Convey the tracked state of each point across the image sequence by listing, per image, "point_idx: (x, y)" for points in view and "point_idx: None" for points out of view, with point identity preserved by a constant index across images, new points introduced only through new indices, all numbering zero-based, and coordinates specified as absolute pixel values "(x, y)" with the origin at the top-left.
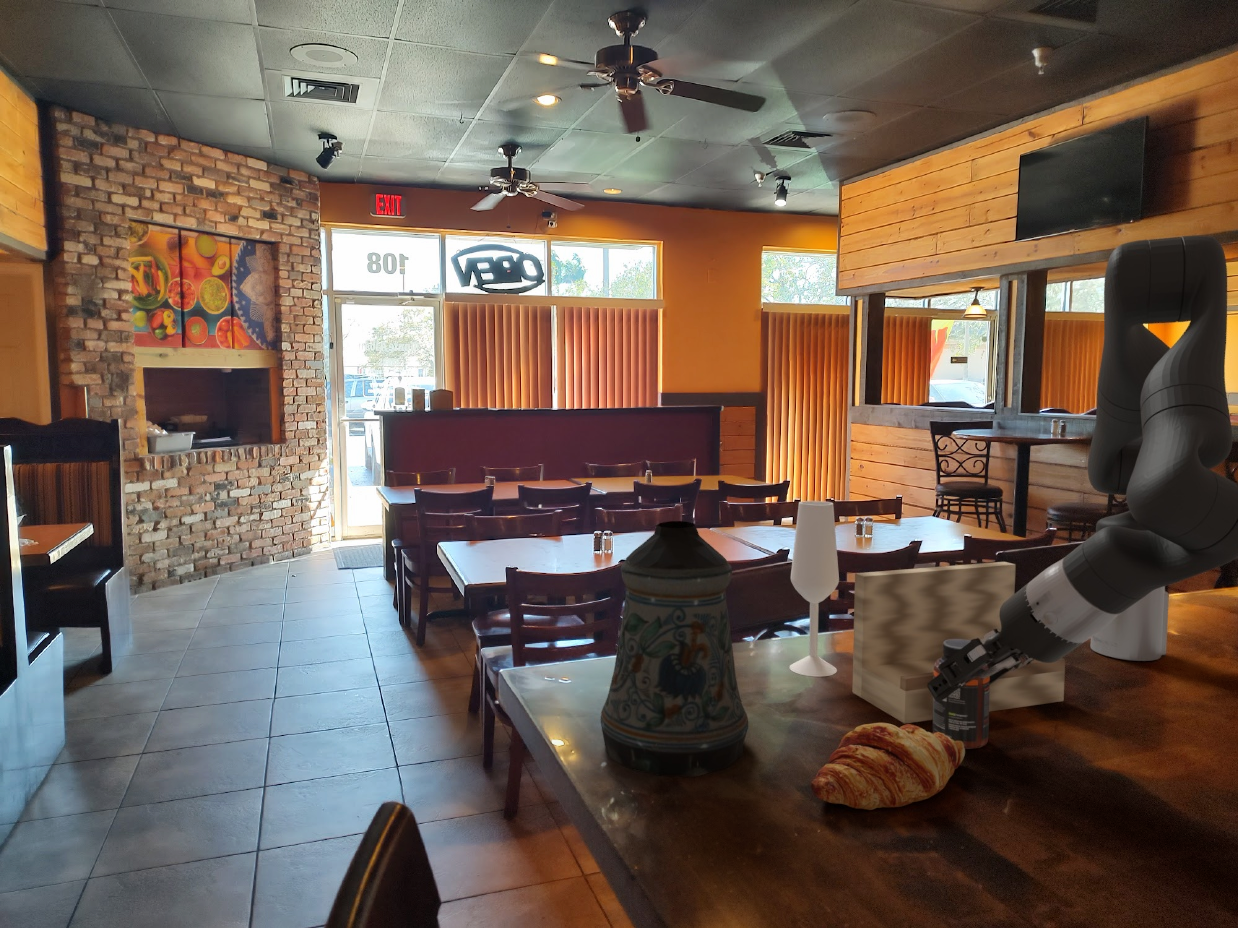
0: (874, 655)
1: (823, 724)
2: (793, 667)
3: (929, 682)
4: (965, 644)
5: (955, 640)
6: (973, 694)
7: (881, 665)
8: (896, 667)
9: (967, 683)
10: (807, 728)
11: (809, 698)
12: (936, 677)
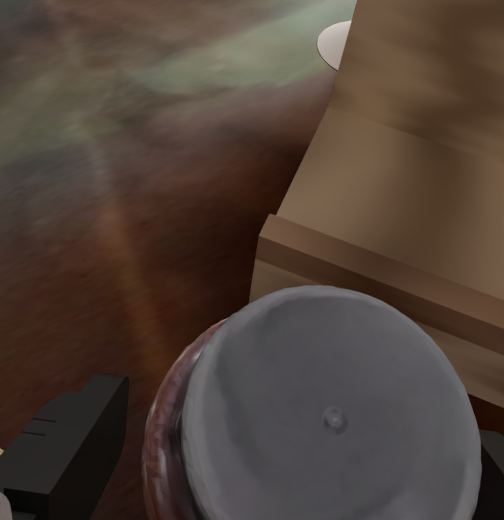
0: (376, 93)
1: (100, 189)
2: (330, 29)
3: (87, 382)
4: (333, 454)
5: (367, 337)
6: None
7: (387, 128)
8: (411, 156)
9: None
10: (53, 179)
11: (217, 109)
12: (61, 417)
